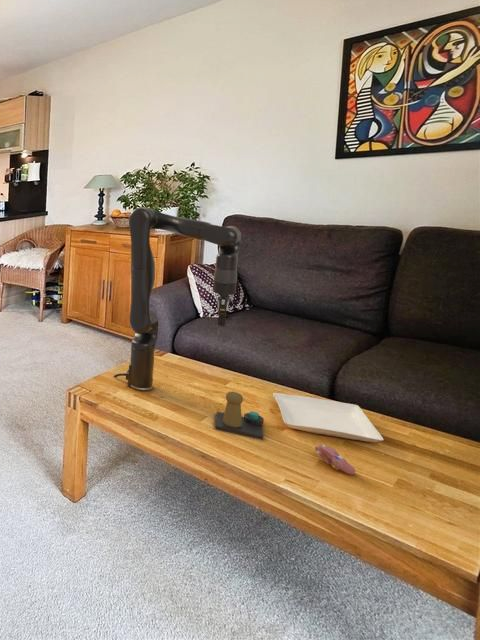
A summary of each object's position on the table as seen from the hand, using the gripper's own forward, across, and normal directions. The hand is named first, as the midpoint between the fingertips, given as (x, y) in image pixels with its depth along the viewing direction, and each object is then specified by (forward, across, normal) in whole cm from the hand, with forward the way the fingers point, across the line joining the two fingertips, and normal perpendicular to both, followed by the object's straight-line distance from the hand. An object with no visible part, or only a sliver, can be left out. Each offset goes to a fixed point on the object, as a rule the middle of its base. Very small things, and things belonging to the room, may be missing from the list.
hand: (221, 322), depth 178 cm
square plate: (+33, -4, +34) cm, 48 cm away
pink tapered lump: (+33, +27, +33) cm, 54 cm away
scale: (+33, +14, +8) cm, 37 cm away
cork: (+32, +15, +6) cm, 36 cm away
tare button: (+30, +10, +13) cm, 34 cm away
